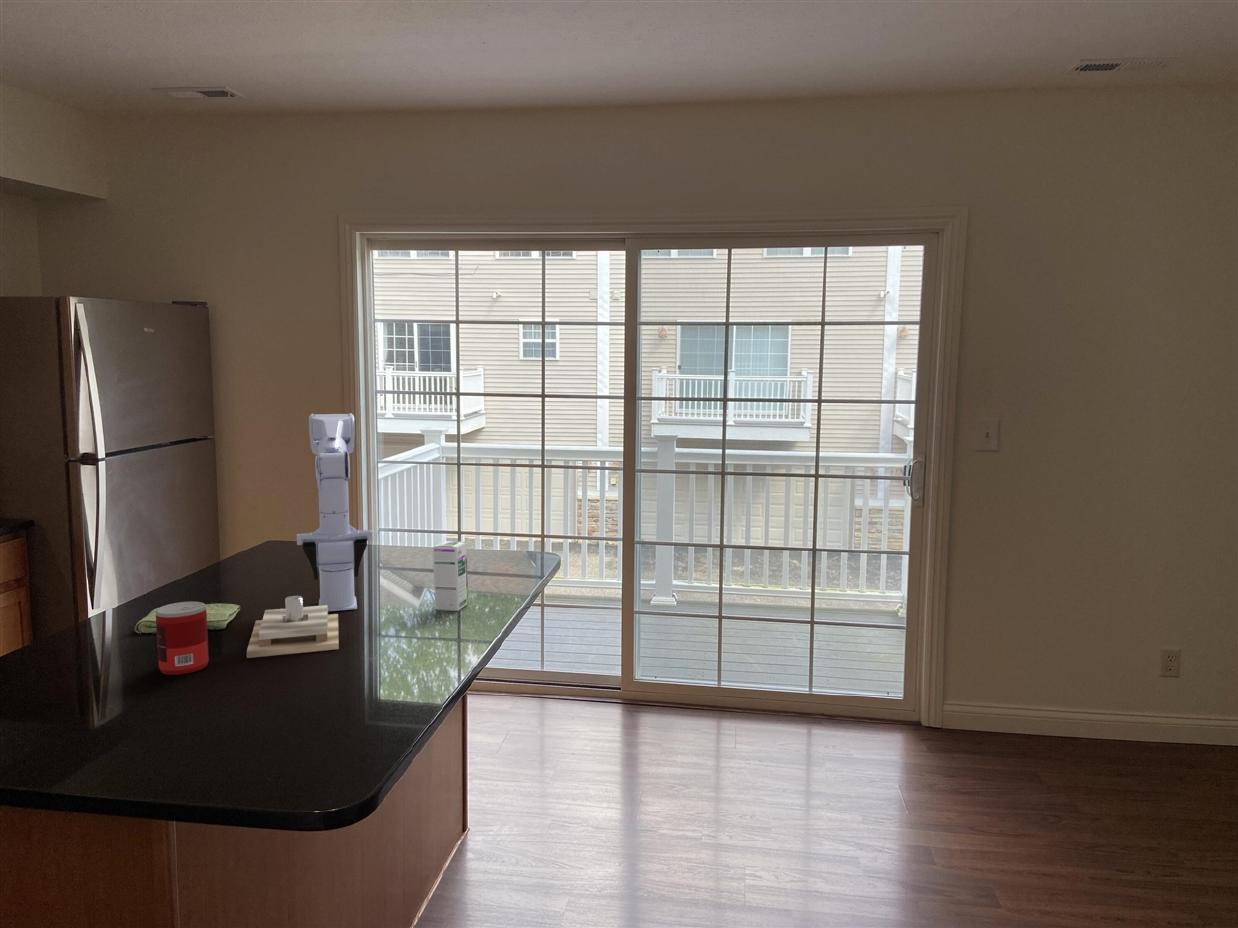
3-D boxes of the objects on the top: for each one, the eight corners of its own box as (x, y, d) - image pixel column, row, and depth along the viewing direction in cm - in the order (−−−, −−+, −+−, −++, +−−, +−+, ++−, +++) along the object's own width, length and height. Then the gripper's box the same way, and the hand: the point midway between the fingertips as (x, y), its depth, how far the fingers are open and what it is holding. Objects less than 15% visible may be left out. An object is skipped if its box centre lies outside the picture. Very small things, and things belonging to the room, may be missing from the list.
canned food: (218, 662, 152) (215, 603, 150) (182, 678, 144) (179, 615, 143) (185, 657, 154) (182, 599, 153) (148, 672, 147) (145, 611, 145)
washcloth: (228, 632, 171) (227, 616, 170) (132, 637, 167) (131, 621, 166) (242, 613, 183) (241, 599, 183) (153, 618, 180) (152, 603, 179)
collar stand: (256, 626, 173) (255, 608, 173) (338, 619, 178) (337, 601, 178) (246, 657, 154) (245, 637, 154) (338, 648, 159) (338, 629, 159)
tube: (287, 635, 167) (285, 596, 166) (304, 634, 168) (303, 595, 167) (286, 640, 164) (284, 600, 163) (303, 639, 165) (301, 599, 164)
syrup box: (458, 611, 184) (457, 546, 183) (433, 609, 185) (432, 545, 184) (468, 604, 190) (467, 541, 188) (444, 602, 191) (442, 540, 189)
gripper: (295, 516, 165) (297, 584, 166) (372, 512, 169) (374, 578, 171) (296, 510, 171) (299, 576, 173) (370, 507, 176) (372, 571, 177)
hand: (336, 577), depth 172 cm, fingers open, 7 cm apart
